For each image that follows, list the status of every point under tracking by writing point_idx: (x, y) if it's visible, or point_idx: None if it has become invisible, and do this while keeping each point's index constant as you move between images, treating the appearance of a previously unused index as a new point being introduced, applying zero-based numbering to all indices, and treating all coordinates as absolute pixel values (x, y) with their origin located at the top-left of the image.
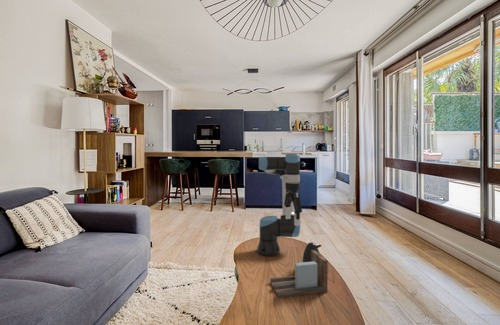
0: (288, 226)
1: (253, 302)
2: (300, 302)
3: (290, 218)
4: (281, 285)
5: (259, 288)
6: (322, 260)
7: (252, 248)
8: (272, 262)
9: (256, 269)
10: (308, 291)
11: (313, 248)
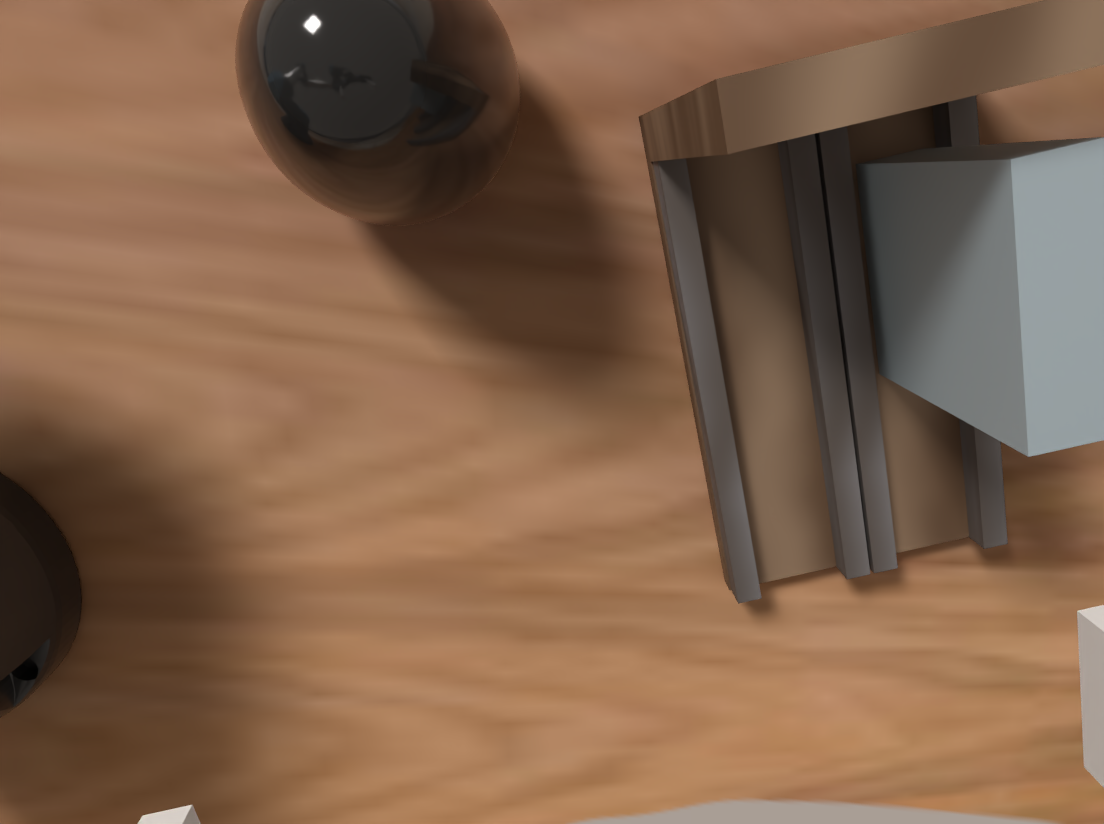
0: None
1: (1021, 705)
2: None
3: (190, 820)
4: (889, 511)
5: (818, 667)
6: None
7: None
8: (253, 545)
9: (446, 699)
10: None
11: (444, 49)
